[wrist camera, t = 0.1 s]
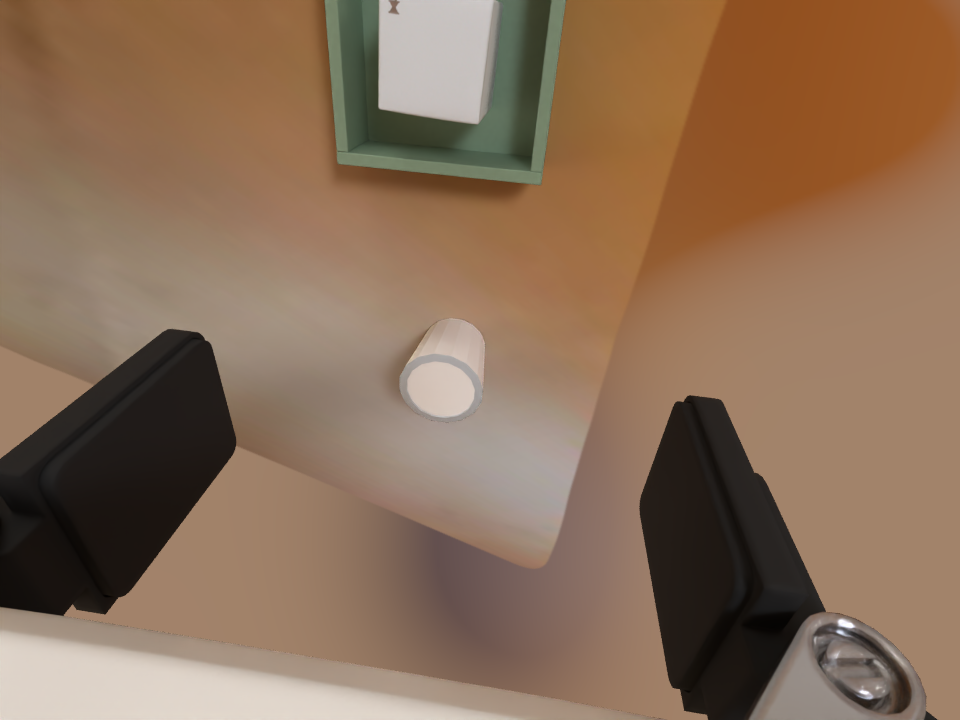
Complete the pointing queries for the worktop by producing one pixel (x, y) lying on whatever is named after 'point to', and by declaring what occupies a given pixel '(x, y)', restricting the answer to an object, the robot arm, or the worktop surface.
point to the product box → (438, 57)
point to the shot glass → (446, 372)
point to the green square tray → (440, 143)
